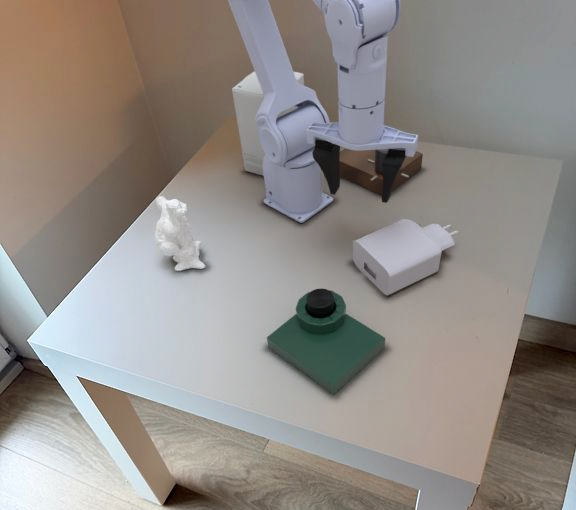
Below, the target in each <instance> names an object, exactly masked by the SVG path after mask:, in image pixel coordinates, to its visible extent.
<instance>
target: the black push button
mask: <svg viewBox="0 0 576 510" xmlns="http://www.w3.org/2000/svg"><path fill="white" fill-rule="evenodd" d="M329 290H330V289H327V288H321V287H320V288H315V289H313V290H311V291H309V292H310V293H309V294H308V295H307V298H306V300H307V310H308V313H309V314H310V315H311V316H312V317H314V318H320V319H322V318H326V317H329V316H330V315H331V314H332V313H333V312H334V295H333V293H332V292H331V291H332V290H330V291H329Z"/></svg>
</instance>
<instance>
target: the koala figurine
mask: <svg viewBox="0 0 576 510" xmlns="http://www.w3.org/2000/svg"><path fill="white" fill-rule="evenodd" d="M155 206H156V207H157V209H158V210H159V211H161V214H160V218H159V219H158V221H157V222H156V226H155V231H154V239H155V242H156V247H157V249H158V251H159V252H160V253H161V254H162V255H163V256H165V257H172V259H173V260H174V262H176V263H177V264H176V265H175V266H174V270H175V271H177V272H180V271H185V270H188V269H199V270H203V269H204V268H206V264H204V262H202V261H201V260H200V258H199V257H200V249H201V245H202V241H200V240H198V239H197V240H194V238H193V235H192V233H191V229H192V228H191V225H190V223H189V222H188V218H187V213H188V210H189V209H188V207H187V203H185V202H182V201H180V200H178V198H172V199H167V198H166V197H164V196H161V195H160V196H157V197H156V199H155Z"/></svg>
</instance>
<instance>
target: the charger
mask: <svg viewBox="0 0 576 510" xmlns="http://www.w3.org/2000/svg"><path fill="white" fill-rule="evenodd" d="M451 228H452V226H451V224H447V225H444V226H443V227H442V226H441V225H440V223H430V224H427V225H425V226H423V227H422V226H420V225H419V224H418V223H416V221H414V220H411V219H407V218H401V219H399V220H397V221H395V222H393V223H392V224H391V223H390V224H388V225H386V226H383V227H382V228H380V229H377V230H375V231H372V232H371V233H368V234H367V235H364V236H362V237H359V238H358V239H355V240H353V241H352V260H353V263H354V264H355V266H356V267H357V269H358V270H359V271H360V272H361V273H362V274H363V275H364V276H365V277H366V278H367V279H368V280H369V281H370V282H371V283H372V284H373V285H374V286H375V287H376V288H377V289H378V290H379V291H380V292H381V293H382V294H384V295H385V296H390V295H392V294H395V293H396V292H398V291H400V290H403V289H404V288H406V287H409V286H410V285H412V284H414V283H416V282H419V281H420V280H422V279H423V280H424V279H425V278H427V277H429V276H431V275H433V274H435V273H437V272H439V270H440V264H441V258H442V251H444V250H447V249H449V248H451V247H452V246H455V245H456V243H455V240H454V239H453V236H455V235H458V234H459V230H453V231H451V232H449V231H448V229H451Z"/></svg>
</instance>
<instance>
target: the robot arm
mask: <svg viewBox="0 0 576 510" xmlns="http://www.w3.org/2000/svg"><path fill="white" fill-rule="evenodd" d="M311 1H312V2H313V3H314V5H315V6H316V7H317V8H318V9H319V11H320V12H322V14H323V15H324V16H323V17H324V24H325V25H324V26H325V28H326V32H327V36H328V37H329V39H330V42H331V47H332V57H333V60H334V62H335V63H336V64H337V67H336V68H337V69H336V71H337V105H338V106H337V108H338V121H333V122H330V118H329V116H328V113H327V111H326V109H325V108H324V107H323V105H322V104H321V102H320V100H319V98H318V96H317V93H316V91H315V90H314V89H312V88H310V87H308V86H306V85H305V84H304V85H301V84H299V83H298V82H297V81H296V78H295V75H294V72H295V71H294V70H293V67H292V64H291V61H290V59H289V56H288V53H287V49H286V47H285V44H284V41H283V37H282V35H281V33H280V30H279V27H278V24H277V22H276V21H277V20H276V18H275V16H274V13H273V10H272V7H271V4H270V1H269V0H227V3H228V4H229V8H230V11H231V13H232V16H233V18H234V21H235V24H236V26H237V28H238V32H239V34H240V37H241V39H242V42H243V44H244V47H245V49H246V52H247V55H248V57H249V60H250V63H251V65H252V68H253V70H254V71H255V73H256V76H257V78H258V81H259V84H260V86H261V89H262V91H263V94H264V99H263V101H262V103H261V106H260V108H259V110H258V112H257V114H256V117H255V121H256V124H257V128H258V131H259V136H260V143H261V147H262V149H263V151H264V153H265V157H264V160H263V175H264V176H263V175H262V176H263V180H264V187H265V194H266V198H264V199H263V204H265V205H266V206H269V207H271V208H272V209H274V210H276V211H278V212H280V213H281V214H283V215H285V216H287V217H289V218H290V219H293V221H296V222H298V223H300V224H303V223H305V222H306V221H308V220H309V219H310V218H312V217H313V216H314V215H316V214H317V213H319V212H320V211H321V210H323V209H324V208H325V207H327V206H329V204H331V203H332V202H334V197H332V196H330V195H334V196H335V195H336V194H337V193H338V190H339V189H340V186H341V176H340V169H339V157H340V152H341V148H343V149H345V148H346V149H350V150H356V151H363V150H384V151H388V153H387V155H386V156H385V158H384V160H383V161H382V171H383V191H382V195H381V202H382V203H384V204H387V203H388V202H389V200H390V198H391V196H392V192H393V191H392V187H393V183H394V180H395V178H396V175H397V173H398V171H399V169H400V167H401V166H402V164H403V162H404V160H405V158H406V156H408V157H413V156H414V154H415V152H416V151H417V150H418V144H419V143H418V141H419V134H416V133H411V132H410V133H408V132H406V131H402V130H401V129H397V128H395V127H391V126H388V125H385V123H384V122H385V106H386V105H385V101H386V100H385V99H386V82H387V59H388V42H389V41H388V40H389V36H388V33H390V32H392V31H393V30H394V29H395V28H396V27H397V24H398V23H399V21H400V16H401V8H402V7H401V0H311ZM293 106H296V107H298V108H297V109H295V110H293V111H291V112H289V113H287V114H285V115H283V116H280V117H278V118H277V116H278V115H279V114H280V113H281V112H283V111H285V110H287V109H289V108H291V107H293ZM322 173H323V175H324V178H325V180H326V184H327V186H328V188H329V193H330V195H329V194H326V193H325V192H323V186H322V185H323V183H322ZM391 191H392V192H391Z"/></svg>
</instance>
